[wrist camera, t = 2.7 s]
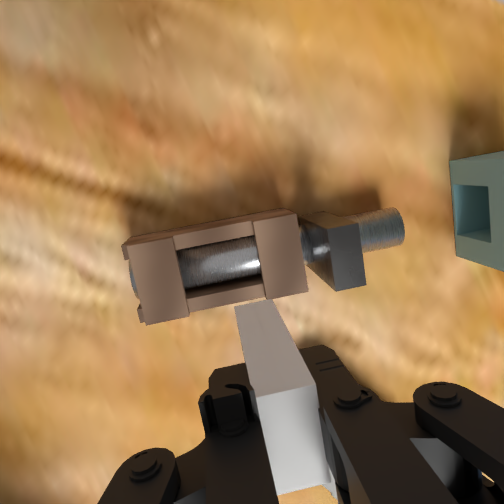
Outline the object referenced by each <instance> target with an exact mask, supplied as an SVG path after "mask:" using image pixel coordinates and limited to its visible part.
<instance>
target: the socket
mask: <svg viewBox="0 0 504 504" xmlns="http://www.w3.org/2000/svg"><path fill="white" fill-rule="evenodd" d="M449 164H450V177H451V190H452V204H453V217H454V231H455V244H456V256H458V257H461V258H464V259H467V260H470V261H473V262H476V263H479V264H482V265H485V266H488V267H491V268H494V269H497V270H500V271H503V272H504V151H500V152H494V153H489V154H484V155H478V156H473V157H468V158H462V159H457V160H452V161H449Z"/></svg>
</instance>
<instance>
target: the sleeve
mask: <svg viewBox="0 0 504 504" xmlns="http://www.w3.org/2000/svg"><path fill="white" fill-rule="evenodd" d="M250 235H254V236H255V241H256V247H257V253H258V258H259V264H260V269H261V274H258V275H253V276H248V277H243V278H238V279H233V280H228V281H224V282H219V283H214V284H209V285H204V286H199V287H194V288H189V289H184V284H183V280H182V275H181V271H180V266H179V262H178V257H177V253H176V250H179V249H184V248H189V247H194V246H199V245H204V244H209V243H214V242H220V241H225V240H230V239H235V238H240V237H245V236H250ZM121 247H122V251H123V255H124V259H125V260H128V259H130V263H131V267H132V271H133V275H134V279H135V283H136V287H137V291H138V295H139V299H140V304H139V307H138V309H137V311H138V315H139V319H140V323H142V322H145V323H146V325H151V324H156V323H160V322H165V321H170V320H175V319H179V318H184V317H189V315H190V312H195V311H200V310H204V309H209V308H214V307H219V306H224V305H228V304H233V303H238V302H243V301H248V300H252V299H257V298H262V297H266V299H267V300H268V299H275V298H280V297H284V296H289V295H294V294H299V293H304V292H308V285H307V279H306V272H305V266H304V259H303V253H302V247H301V240H300V234H299V227H298V221H297V214H296V213H294V212H292V211H289V210H287V209H285V208H280V209H275V210H270V211H264V212H259V213H254V214H249V215H244V216H238V217H233V218H228V219H223V220H218V221H212V222H207V223H202V224H197V225H191V226H186V227H181V228H176V229H171V230H165V231H160V232H155V233H150V234H145V235H139V236H134V237H130V238H129V239H128V240H127V241H126V242H125V243H124V244H123V245H122V246H121Z"/></svg>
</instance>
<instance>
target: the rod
mask: <svg viewBox="0 0 504 504" xmlns="http://www.w3.org/2000/svg"><path fill="white" fill-rule="evenodd" d="M299 222H300V225H299V226H298V227H299V234H300V240H301V247H302V253H303V259H304V265H307V266H308V267H309V268H310V269H311V270H312V271H313V272H315V273H316V274H317V275H318V276H319V277H320V278H321V279H322V280H323V281H325V282H326V283H327V284H328V285H329V286H330V287H331V288H332V289H334V290H335V291H341V290H345V289H350V288H355V287H360V286H364V285H366V278H365V270H364V262H363V254H362V253H366V252H371V251H375V250H380V249H385V248H390V247H395V246H400V245H401V244H402V243H403V241H404V236H405V230H404V224H403V220H402V217H401V215H400V213H399V212H398V210H397V209H396V208H394V207H391V208H386V209H381V210H376V211H371V212H365V213H360V214H355V215H350V216H345V217H339V216H336V215H333V214H330V213H327V212H324V211H323V212H317V213H312V214H307V215H302V216H299ZM176 253H177V257H178V262H179V266H180V271H181V275H182V280H183V284H184V289H189V288H194V287H199V286H204V285H209V284H214V283H219V282H224V281H228V280H233V279H238V278H243V277H248V276H253V275H258V274H261V269H260V264H259V258H258V253H257V247H256V241H255V236H254V235H250V236H245V237H240V238H235V239H230V240H225V241H220V242H214V243H209V244H204V245H199V246H194V247H189V248H184V249H179V250H176ZM129 271H130V278H131V283H132V287H133V290H134V293H135V295H136V297H137V298H138V299H139V295H138V291H137V287H136V283H135V279H134V275H133V271H132V267H131V263H130V261H129Z"/></svg>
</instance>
